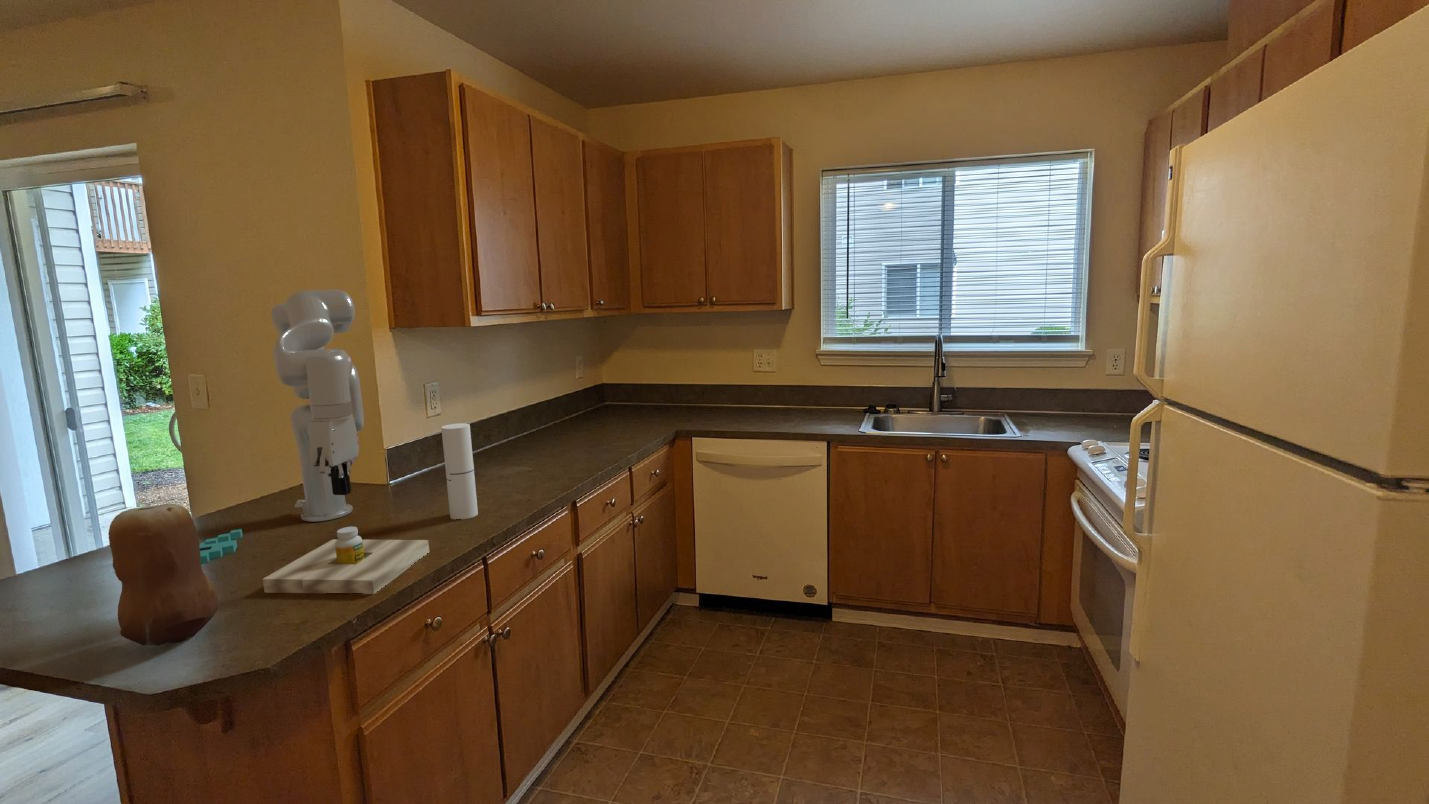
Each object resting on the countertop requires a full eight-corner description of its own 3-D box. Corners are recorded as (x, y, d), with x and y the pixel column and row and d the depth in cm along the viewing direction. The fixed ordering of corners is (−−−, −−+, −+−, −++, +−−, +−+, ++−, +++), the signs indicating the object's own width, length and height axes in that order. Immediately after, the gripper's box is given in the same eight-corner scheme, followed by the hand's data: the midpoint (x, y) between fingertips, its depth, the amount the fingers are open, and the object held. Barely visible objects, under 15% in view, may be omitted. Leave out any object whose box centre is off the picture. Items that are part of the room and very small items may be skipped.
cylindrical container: (468, 520, 179) (460, 428, 175) (444, 519, 181) (435, 428, 177) (483, 511, 186) (474, 423, 182) (459, 510, 188) (451, 423, 184)
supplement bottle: (346, 566, 151) (341, 525, 149) (370, 565, 151) (365, 524, 149) (333, 576, 146) (328, 534, 144) (358, 575, 146) (353, 533, 144)
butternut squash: (186, 617, 128) (165, 492, 124) (239, 625, 125) (218, 496, 120) (103, 655, 115) (76, 516, 111) (159, 665, 112) (133, 522, 107)
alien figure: (144, 553, 164) (119, 583, 147) (143, 544, 164) (117, 573, 146) (242, 537, 173) (229, 563, 156) (241, 528, 173) (228, 554, 155)
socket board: (264, 592, 138) (262, 578, 138) (333, 551, 160) (332, 539, 159) (374, 594, 136) (372, 580, 136) (429, 552, 158) (428, 540, 157)
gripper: (338, 404, 150) (347, 483, 153) (290, 418, 135) (302, 505, 139) (369, 404, 149) (378, 483, 152) (325, 418, 134) (336, 505, 138)
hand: (342, 493), depth 145 cm, fingers closed
